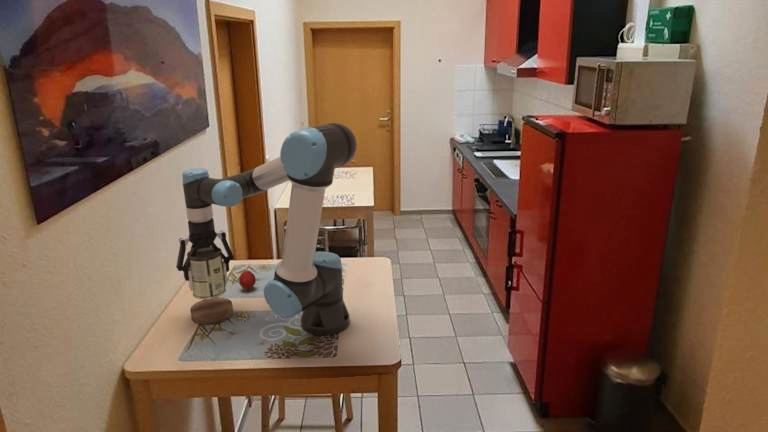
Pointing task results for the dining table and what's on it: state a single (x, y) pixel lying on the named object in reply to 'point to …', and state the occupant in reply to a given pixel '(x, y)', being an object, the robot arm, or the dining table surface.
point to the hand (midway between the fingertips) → (208, 285)
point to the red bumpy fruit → (247, 279)
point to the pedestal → (211, 310)
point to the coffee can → (207, 273)
